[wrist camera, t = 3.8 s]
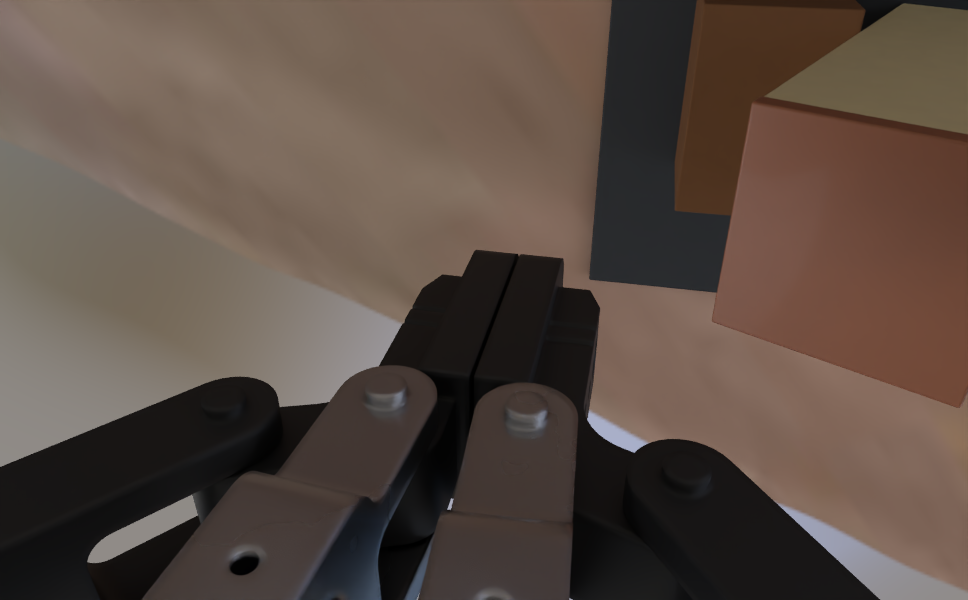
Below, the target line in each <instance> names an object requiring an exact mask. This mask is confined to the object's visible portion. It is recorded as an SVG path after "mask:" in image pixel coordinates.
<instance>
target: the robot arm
mask: <svg viewBox="0 0 968 600" xmlns="http://www.w3.org/2000/svg"><path fill="white" fill-rule="evenodd" d="M563 272H564V261H563V258H553V257H543V256H533V255H524V254H521V255H520V256H518V254H512V253H502V252H493V251H483V250H475V251H474V253H473V255H472V257H471V259H470V261H469V263H468V265H467V267H466V270H465V272H464V274H463V276H462V277H460V276H451V275H441V276H440V277H438V278H437V279H435V280H434V281H433V282H431V283H430V284H428V285H427V286H425V287H424V288H422V290H421V292H420V294H419V295H418V297H417V299H416V301H415V303H414V304H413V309H411V310H410V312H409V313H408V315H407V317H406V319H405V323H403V324H402V326H401V328H400V329H399V331H398V333H397V335H396V336H395V338H394V340H393V342H392V344H391V345H390V347H389V349H388V351H387V353H386V354H385V356H384V358H383V360H382V361H381V363H380V365H379V367H373V368H370V369H366V370H364V371H361V372H359V373H357V374H355V375H354V376H352V377H350V378H349V379H348V380H347V381H345V382H344V384H343V385H342V386H341V387H340V388H339V390H338V391H337V393H336V394H335V395H334V397H333V398H332V399H331V401H330V402H327V403H321V404H311V405H300V406H288V407H279V402H278V397H277V394H276V392H275V390H274V389H273V388H272V387H271V386H270V385H269V384H267V383H265V382H264V381H261V380H258V379H255V378H250V377H229V378H222V379H218V380H214V381H211V382H208V383H205V384H203V385H201V386H198V387H195V388H193V389H190V390H188V391H186V392H183V393H181V394H178V395H176V396H173V397H171V398H168V399H166V400H164V401H161V402H159V403H156V404H154V405H151V406H149V407H146V408H144V409H142V410H139V411H137V412H134V413H132V414H129V415H127V416H124V417H122V418H119V419H117V420H115V421H112V422H110V423H107V424H105V425H102V426H100V427H97V428H95V429H92V430H90V431H87V432H85V433H83V434H80V435H78V436H76V437H73V438H70V439H68V440H65V441H63V442H60V443H58V444H56V445H53V446H51V447H48V448H46V449H43V450H41V451H39V452H36V453H34V454H31V455H29V456H26V457H24V458H21V459H19V460H17V461H14V462H11V463H9V464H7V465H4V466H2V467H0V600H416V599H417V597H418V595H419V598H418V600H569V598H571V599H573V600H880V599H879V598H878V597H876V596H875V595H874V594H873V593H872V592H871V591H870V590H869V589H868V588H867V587H866V586H865V585H864V584H862V583H861V582H860V581H859V580H858V579H857V578H856V577H855V576H854V575H853V574H852V573H851V572H850V571H849V570H847V569H846V568H845V567H844V566H843V565H842V564H841V563H840V562H839V561H838V560H836V558H835V557H834V556H832V555H831V554H830V553H829V552H828V551H827V550H826V549H825V548H824V547H823V546H822V545H821V544H820V543H818V542H817V541H816V540H815V539H814V538H813V537H812V536H811V535H810V534H809V533H808V532H807V531H805V530H804V529H803V528H802V527H801V526H800V525H799V524H798V523H797V522H796V521H795V520H794V519H793V518H792V517H790V516H789V515H788V514H787V513H786V512H785V511H784V510H783V509H782V508H781V507H780V506H779V505H778V504H776V503H775V502H774V501H773V500H772V499H771V498H770V497H769V496H768V495H767V494H766V493H765V492H764V491H762V490H761V489H760V488H759V487H758V486H757V485H756V484H755V483H754V482H753V481H752V480H751V479H750V478H749V477H747V476H746V475H745V474H744V473H743V472H742V471H741V470H740V469H739V468H738V467H737V466H736V465H735V464H733V463H732V462H731V461H730V460H729V459H728V458H727V457H725V456H724V455H723V454H721V453H720V452H718V451H716V450H715V449H712V448H710V447H708V446H706V445H703V444H700V443H697V442H693V441H689V440H681V439H665V440H658V441H655V442H651V443H649V444H646V445H644V446H643V447H641V448H640V449H638V450H637V451H636V452H635V453H633V452H631V451H628V450H625V449H623V448H621V447H618V446H616V445H614V444H612V443H610V442H609V441H607V440H605V439H604V438H603V437H601V436H600V435H599V434H598V433H597V432H596V431H595V430H594V429H593V428H592V427H591V425H590V424H589V422H588V421H587V418H588V412H589V406H590V399H591V393H592V387H593V380H594V369H595V358H596V347H597V336H598V325H599V314H600V307H599V305H598V304H597V302H596V300H595V298H594V296H593V295H592V293H591V291H590V290H582V289H573V288H564V287H563ZM190 495H193V498H194V502H195V506H196V509H197V513H198V516H196V517H194V518H192V519H190V520H188V521H186V522H184V523H182V524H180V525H178V526H176V527H174V528H172V529H170V530H168V531H166V532H164V533H162V534H160V535H158V536H156V537H154V538H152V539H150V540H148V541H146V542H145V543H142V544H140V545H138V546H136V547H134V548H132V549H130V550H128V551H126V552H124V553H122V554H120V555H118V556H116V557H114V558H113V559H110V560H108V561H105V562H101V563H88V562H87V560H88V556H89V554H90V552H91V551H92V549H93V548H94V547H95V545H96V544H97V543H98V542H99V541H101V540H102V539H103V538H105V537H106V536H108V535H109V534H111V533H113V532H115V531H117V530H119V529H121V528H124V527H126V526H127V525H130V524H132V523H134V522H136V521H138V520H140V519H142V518H144V517H146V516H148V515H150V514H152V513H155V512H156V511H158V510H161V509H163V508H165V507H167V506H169V505H171V504H173V503H175V502H177V501H179V500H181V499H184V498H186V497H188V496H190ZM451 498H452V499H454V500H453V504H452V508H451V510H447V508H448V505H449V503H450V499H451ZM419 593H420V594H419Z"/></svg>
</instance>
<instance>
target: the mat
mask: <svg viewBox="0 0 968 600" xmlns="http://www.w3.org/2000/svg"><path fill="white" fill-rule="evenodd" d="M904 3H906V4H915V5H924V6H933V7H942V8H951V9H960V10H968V0H612V7H611V20H610V32H609V44H608V56H607V68H606V81H605V93H604V105H603V117H602V129H601V142H600V154H599V166H598V178H597V190H596V203H595V215H594V227H593V239H592V251H591V264H590V276H589V279H590V280H599V281H609V282H619V283H629V284H638V285H648V286H658V287H668V288H677V289H687V290H697V291H707V292H717V289H718V284H719V278H720V273H721V268H722V262H723V257H724V251H725V246H726V241H727V235H728V230H729V224H730V219H731V213H732V208H733V203H734V197H735V192H736V186H737V181H738V176H739V170H740V165H741V159H742V154H743V148H744V143H745V138H746V132H747V127H748V121H749V116H750V111H751V105H752V103H753V101H755V100H756V99H758V98H759V97H762V96H763V97H764V96H766V95H767V94H769V93H770V92H772V91H773V90H775V89H776V88H778V87H779V86H781V85H782V84H784V83H785V82H787V81H788V80H789V79H791V78H792V77H794V76H795V75H797V74H798V73H800V72H801V71H803V70H804V69H806V68H807V67H809V66H810V65H812V64H813V63H815V62H816V61H818V60H819V59H821V58H822V57H824V56H825V55H827V54H828V53H830V52H831V51H833V50H834V49H836V48H837V47H839V46H840V45H842V44H843V43H845V42H846V41H848V40H849V39H851V38H852V37H854V36H855V35H857V34H858V33H860V32H861V31H863V30H864V29H866V28H867V27H869V26H870V25H872V24H873V23H875V22H876V21H878V20H879V19H881V18H882V17H884V16H885V15H887V14H888V13H890V12H891V11H893V10H894V9H896V8H897V7H899V6H900V5H902V4H904Z"/></svg>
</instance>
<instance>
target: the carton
mask: <svg viewBox="0 0 968 600" xmlns="http://www.w3.org/2000/svg"><path fill="white" fill-rule="evenodd" d="M712 321H713V322H714V323H717V324H720V325H723V326H726V327H729V328H732V329H734V330H737V331H740V332H743V333H746V334H749V335H751V336H754V337H757V338H760V339H763V340H766V341H769V342H771V343H774V344H777V345H780V346H783V347H786V348H789V349H791V350H794V351H797V352H800V353H803V354H806V355H809V356H811V357H814V358H817V359H820V360H823V361H826V362H829V363H831V364H834V365H837V366H840V367H843V368H846V369H848V370H851V371H854V372H857V373H860V374H863V375H866V376H868V377H871V378H874V379H877V380H880V381H883V382H886V383H888V384H891V385H894V386H897V387H900V388H903V389H906V390H908V391H911V392H914V393H917V394H920V395H923V396H926V397H928V398H931V399H934V400H937V401H940V402H943V403H945V404H948V405H951V406H954V407H957V408H960V407H961V406H962V405H963V402H964V400H965V397H966V395H967V393H968V10H960V9H951V8H942V7H933V6H924V5H915V4H906V3H904V4H902V5H900V6H899V7H897V8H896V9H894V10H893V11H891V12H890V13H888V14H887V15H885V16H884V17H882V18H881V19H879V20H878V21H876V22H875V23H873V24H872V25H870V26H869V27H867V28H866V29H864V30H863V31H861V32H860V33H858V34H857V35H855V36H854V37H852V38H851V39H849V40H848V41H846V42H845V43H843V44H842V45H840V46H839V47H837V48H836V49H834V50H833V51H831V52H830V53H828V54H827V55H825V56H824V57H822V58H821V59H819V60H818V61H816V62H815V63H813V64H812V65H810V66H809V67H807V68H806V69H804V70H803V71H801V72H800V73H798V74H797V75H795V76H794V77H792V78H791V79H789V80H788V81H787V82H785V83H784V84H782V85H781V86H779V87H778V88H776V89H775V90H773V91H772V92H770V93H769V94H767V95H766V96H764V97H763V96H762V97H759V98H758V99H756V100H755V101H753V103H752V105H751V111H750V116H749V121H748V127H747V132H746V138H745V143H744V148H743V154H742V159H741V165H740V170H739V176H738V181H737V186H736V192H735V197H734V203H733V208H732V213H731V219H730V224H729V230H728V235H727V241H726V246H725V251H724V257H723V262H722V268H721V273H720V278H719V284H718V289H717V295H716V300H715V306H714V311H713V316H712Z"/></svg>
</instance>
